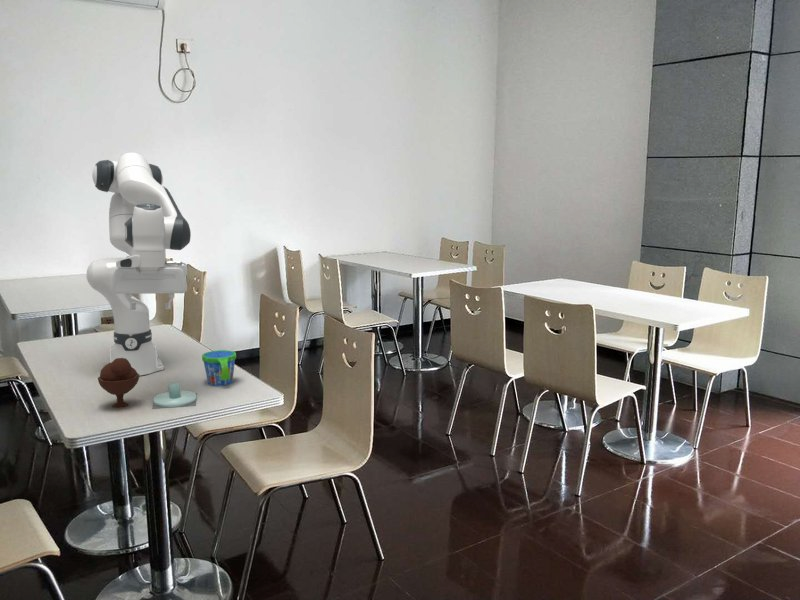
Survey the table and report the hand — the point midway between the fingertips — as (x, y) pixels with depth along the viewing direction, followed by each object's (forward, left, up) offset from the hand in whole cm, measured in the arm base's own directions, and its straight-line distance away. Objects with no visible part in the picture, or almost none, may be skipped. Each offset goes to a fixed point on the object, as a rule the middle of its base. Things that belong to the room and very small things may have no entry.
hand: (150, 309), depth 199 cm
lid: (+1, +6, -27) cm, 28 cm away
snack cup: (-15, +19, -29) cm, 37 cm away
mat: (+1, +6, -28) cm, 29 cm away
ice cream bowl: (+2, -9, -28) cm, 30 cm away
